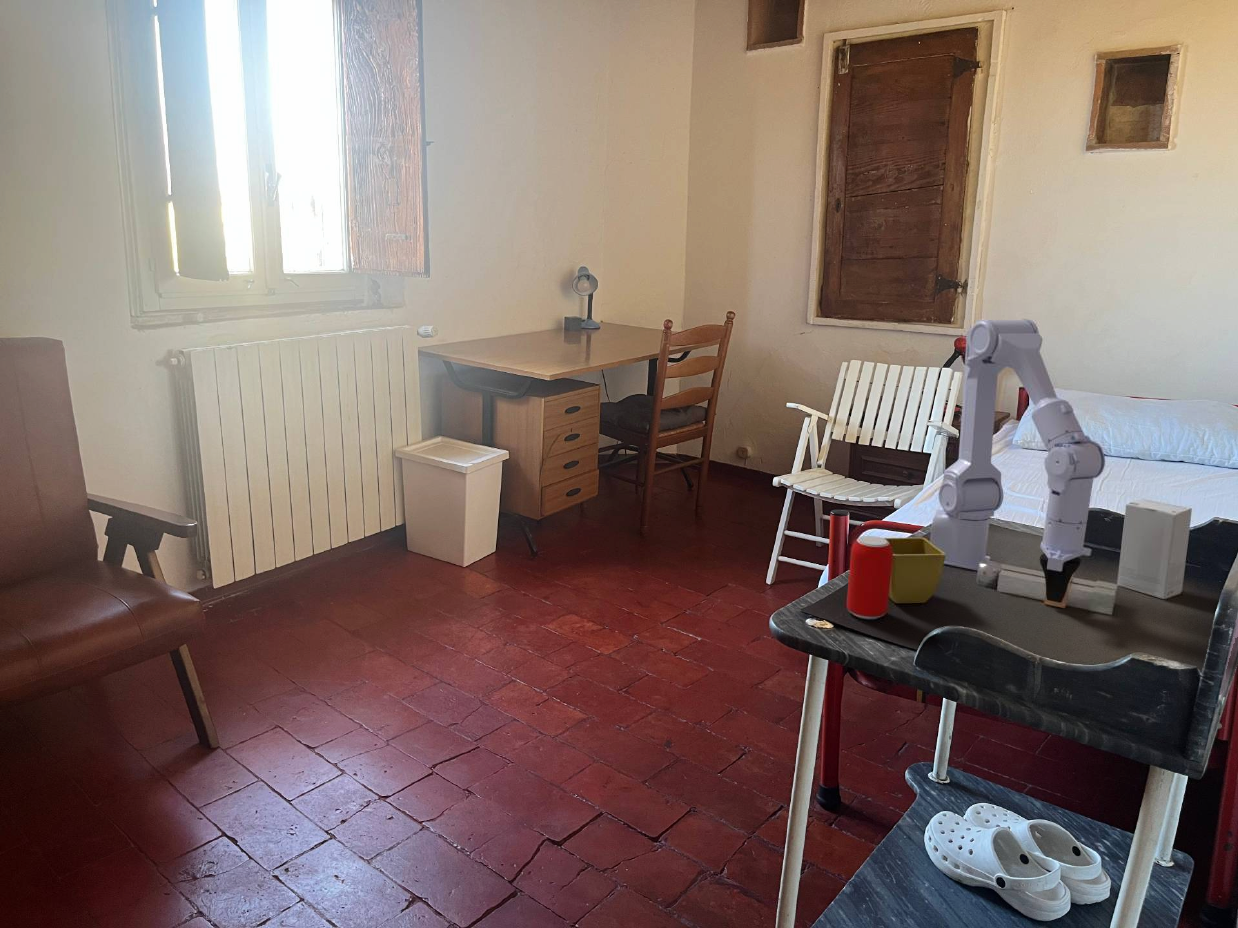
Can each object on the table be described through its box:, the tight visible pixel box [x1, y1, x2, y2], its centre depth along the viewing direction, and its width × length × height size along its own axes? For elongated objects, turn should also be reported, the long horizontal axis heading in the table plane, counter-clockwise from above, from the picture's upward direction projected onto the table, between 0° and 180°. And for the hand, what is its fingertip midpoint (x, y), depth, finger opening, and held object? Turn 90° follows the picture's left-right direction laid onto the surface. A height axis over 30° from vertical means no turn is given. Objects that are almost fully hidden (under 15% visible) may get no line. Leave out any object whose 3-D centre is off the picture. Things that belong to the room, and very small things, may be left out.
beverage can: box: [846, 535, 893, 620], centre depth 140 cm, size 6×6×12 cm
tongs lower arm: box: [996, 570, 1117, 616], centre depth 148 cm, size 17×3×3 cm, turn 58°
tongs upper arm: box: [976, 560, 1118, 609], centre depth 150 cm, size 21×5×4 cm, turn 57°
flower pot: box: [883, 537, 946, 604], centre depth 147 cm, size 9×9×9 cm
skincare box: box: [1116, 498, 1193, 600], centre depth 152 cm, size 8×6×15 cm
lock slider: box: [1043, 573, 1075, 609], centre depth 148 cm, size 3×8×4 cm, turn 148°
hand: (1054, 600), depth 144 cm, fingers closed
